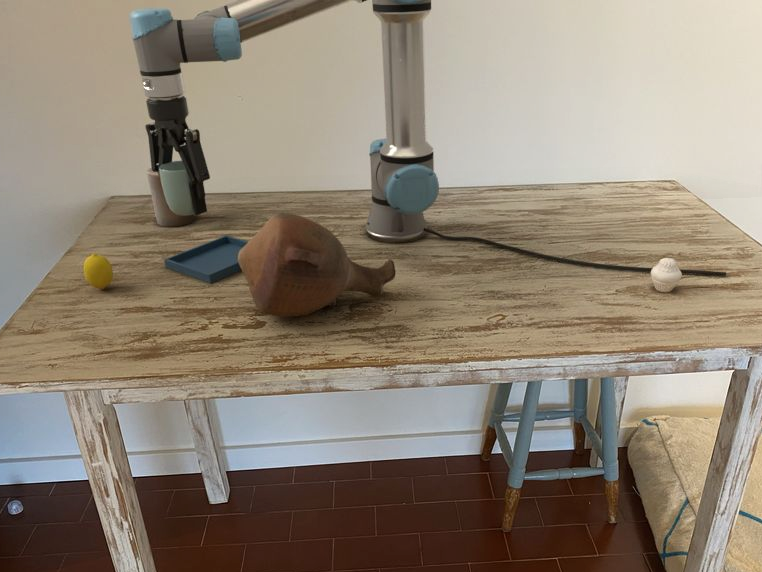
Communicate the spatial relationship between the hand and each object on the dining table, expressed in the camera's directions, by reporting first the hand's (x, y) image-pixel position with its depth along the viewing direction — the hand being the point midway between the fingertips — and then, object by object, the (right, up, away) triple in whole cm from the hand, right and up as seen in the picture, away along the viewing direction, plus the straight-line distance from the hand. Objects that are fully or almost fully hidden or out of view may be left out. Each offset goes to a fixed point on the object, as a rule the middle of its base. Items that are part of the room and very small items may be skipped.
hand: (187, 209), depth 150 cm
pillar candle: (-15, +4, +37) cm, 40 cm away
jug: (+30, -21, -8) cm, 37 cm away
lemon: (-18, -17, 0) cm, 25 cm away
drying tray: (+3, -10, +12) cm, 16 cm away
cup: (0, -1, 0) cm, 1 cm away
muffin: (+100, -17, -2) cm, 101 cm away
